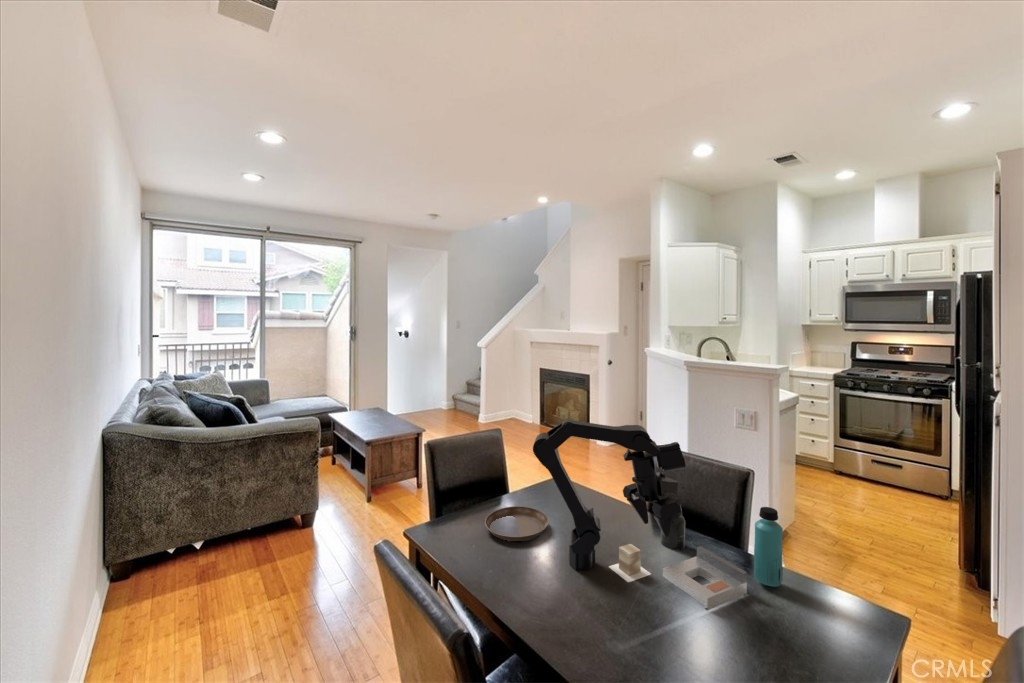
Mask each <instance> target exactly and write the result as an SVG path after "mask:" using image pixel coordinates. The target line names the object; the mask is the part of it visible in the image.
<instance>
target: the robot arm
mask: <svg viewBox="0 0 1024 683" xmlns="http://www.w3.org/2000/svg"><path fill="white" fill-rule="evenodd" d="M571 437H575V438H581V439H588V440H593V441H594V440H595V441H601V442H607V443H612V444H613V443H614V444H617V445H619V446H621V447H623V448H625V449H627V450H626V452H624V454H623V459H624V461H625V462H628V461H629V462H630V461H631V465H632V469H633V471H632V472H633V475H634V476H633V477H631V480H632V483H631V484H628V485H625V486H624V488H623V489H622V495H623V497H624V498H626V501H627V502H628V503H629V505H631V507H632V508H633V509H634V511H635V512H636V513H637V515H638V517H639V518H640V519H641V521H642V522H643V524H645V525H647V524H649V513H648V505H647V504H648V503H650V504H652V506H651V508H652V512H653V515H652V516H653V517H654V519H655V521H656V524H657V525H658V527H659V529H660V532H661V531H662V533H663V535H664V536H665V537H668V536H669V533H670V527H671V521H672V518H673V516H674V515H677V514H678V513H681V512H682V513H683V509H681V508H682V504H681V502H678V501H676V500H675V499H673V498H671V497H668V496H667V494H674V495H678V494H679V487H680V486H679V485H680V481H678V480H675V479H673V478H670V477H668V476H666V475H665V473H663V472H667V471H674V470H676V471H677V470H682V469H686V460H685V457H684V455H683V451H682V449H681V444H679V442H678V441H675V442H671V443H667V444H666V443H665V444H659V445H657V443H656V442H655V440H654V439H652V438H651V437H650V434H649V433H648V431H647V430H646V428H645V427H644V426H643V425H640V424H625V425H619V426H617V425H616V426H614V425H612V426H611V425H607V424H606V425H605V424H600V423H593V422H585V421H580V420H574V419H572V418H566V419H565V420H563V421H562V422H561V423H559V424H558V425H555V426H553V428H551V429H549V430H548V431H547V432H541V433H539V434H537V436H536V437H535V439H534V442H533V445H532V452H533V454H534V456H535V458H536V459H537V460H538V461H539V462H540V464H541V465H542V466H543V467H545V468H546V470H547V471H548V472H549V474H550V475H551V477H552V479H553V482H554V483H555V485H556V488H557V489H558V491H559V492H560V494H561V497H562V499H563V500H564V502H565V504H566V506H567V508H568V510H569V512H570V513H571V516H572V518H573V519H572V520H573V523H574V528H573V529H572V530H571V535H570V544H569V546H568V547H569V553H568V554H569V556H568V558H569V559H568V560H569V564H568V565H569V567H570V568H572V569H573V571H575V572H578V571H580V572H586V571H589V570H591V569H592V568H593V566H595V565H596V549H595V547H596V545H598V544H599V543H600V541H601V531H602V529H601V522H600V521H601V520H600V518H599V517H598V516H597V515H596V512H595V509H594V507H591V508H590V509H589V508H588V507H587V506H586V505H585V504H584V502H583V501H582V499H581V497H580V495H579V494H578V491H577V490H576V489H577V488H576V487H575V485H574V483H573V481H572V479H571V477H570V476H569V474H568V471H567V470H566V468H565V466H564V464H563V462H562V461H561V456H560V453H559V447H560V446H562V445H563V444H564V443H565V442H566V441H567V440H568V439H570V438H571ZM654 458H655V460H654ZM655 463H656V466H655ZM656 467H657V468H658V469H659V468H660V469H661V470H662V471H663V472H660V471H657V470H656ZM633 482H634V483H633ZM665 496H667V497H666V498H663V499H662V498H661V497H665Z"/></svg>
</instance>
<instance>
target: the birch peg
mask: <svg viewBox="0 0 1024 683" xmlns="http://www.w3.org/2000/svg"><path fill="white" fill-rule="evenodd" d="M641 557H642V551H641V549H639V548H638V547H636V546H635V545H633V544H632V543H628V544H625V545H621V546H618V563H619V569H620V570H622V571H623V572H624V573H626V574H627V575H628V576H631V575H634V574H637V573H640V572H641V567H642V564H641V563H642V562H641V561H642V558H641Z"/></svg>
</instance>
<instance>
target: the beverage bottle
mask: <svg viewBox="0 0 1024 683" xmlns="http://www.w3.org/2000/svg"><path fill="white" fill-rule="evenodd" d="M758 513H759V514H758V516H759V517H760V519H759V520H756V521H755V523H754V545H753V551H754V552H753V563H752V564H753V576H754V579H755V580H756V581H757V582H758V583H760V584H761V585H764V586H767V587H779V586H781V585H782V583H783V570H784V569H783V561H784V556H783V532H784V529H783V527H782V526H781V525H780V524H779V523H778V522H777V521H778V520H779V513H778V510H777V509H776V508H773V507H769V506H761V507H760V509H759V512H758Z"/></svg>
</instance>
